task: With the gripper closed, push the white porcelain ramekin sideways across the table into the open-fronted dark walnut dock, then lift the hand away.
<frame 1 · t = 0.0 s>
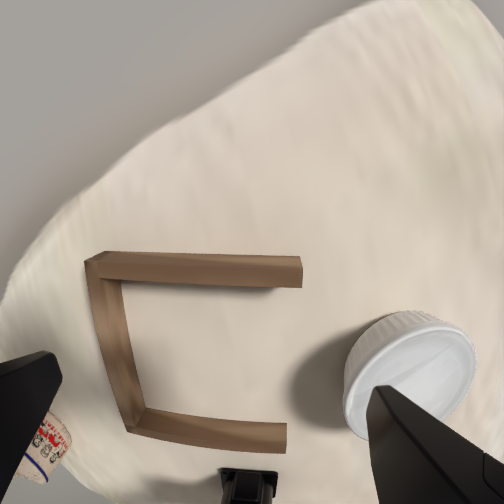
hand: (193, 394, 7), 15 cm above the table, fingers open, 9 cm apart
ramekin: (395, 356, 22), on the table
walnut dock: (206, 356, 23), on the table
teacup with lid: (43, 416, 30), on the table
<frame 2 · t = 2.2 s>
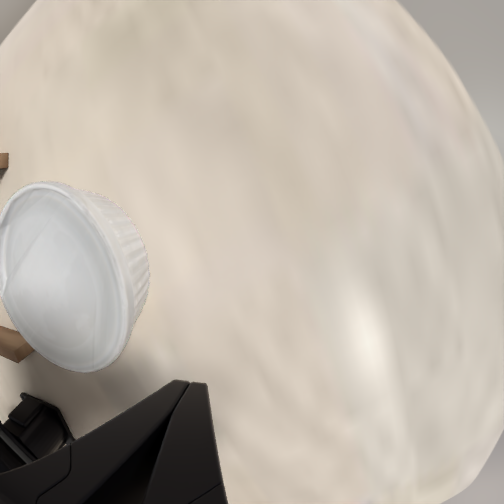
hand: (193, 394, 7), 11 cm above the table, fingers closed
ramekin: (94, 260, 19), on the table
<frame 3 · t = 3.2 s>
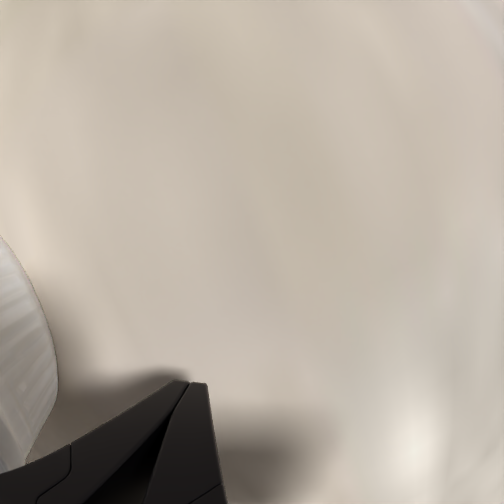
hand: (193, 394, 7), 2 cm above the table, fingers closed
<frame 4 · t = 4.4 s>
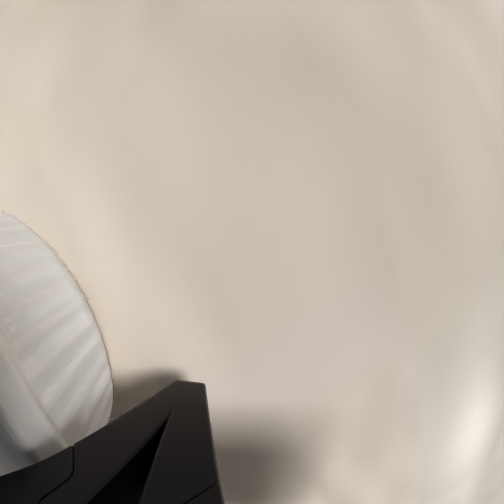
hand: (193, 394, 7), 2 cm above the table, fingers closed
ramekin: (26, 326, 9), on the table, touching gripper
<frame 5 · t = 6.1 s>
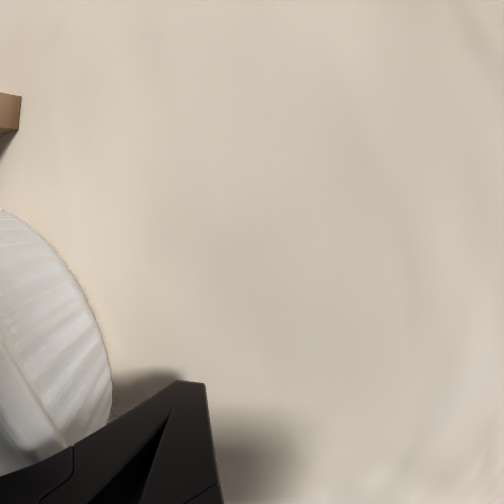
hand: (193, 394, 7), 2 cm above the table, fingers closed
ramekin: (25, 324, 9), on the table, touching gripper
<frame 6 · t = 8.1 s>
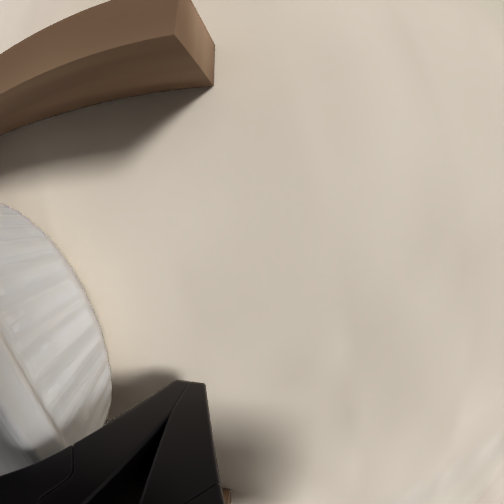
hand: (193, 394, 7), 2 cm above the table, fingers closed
ramekin: (25, 320, 9), on the table, touching gripper
walnut dock: (41, 333, 9), on the table
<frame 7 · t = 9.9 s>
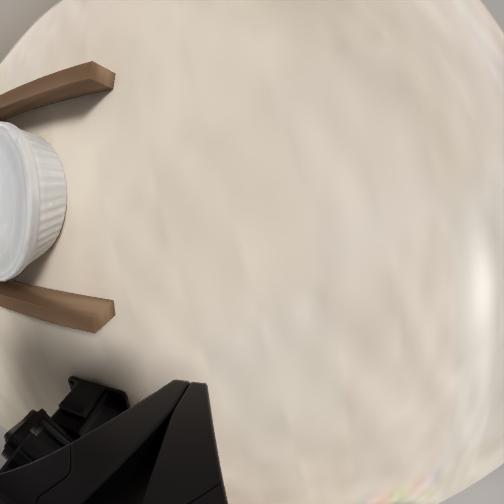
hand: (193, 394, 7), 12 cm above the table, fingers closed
ramekin: (33, 194, 19), on the table
walnut dock: (38, 198, 19), on the table
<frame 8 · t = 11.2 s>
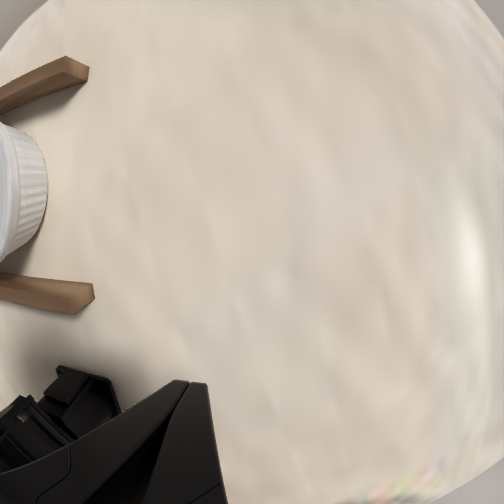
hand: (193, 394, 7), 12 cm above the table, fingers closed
ramekin: (18, 187, 19), on the table
walnut dock: (23, 189, 19), on the table
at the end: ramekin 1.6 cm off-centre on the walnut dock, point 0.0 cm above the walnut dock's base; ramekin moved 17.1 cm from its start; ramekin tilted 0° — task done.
